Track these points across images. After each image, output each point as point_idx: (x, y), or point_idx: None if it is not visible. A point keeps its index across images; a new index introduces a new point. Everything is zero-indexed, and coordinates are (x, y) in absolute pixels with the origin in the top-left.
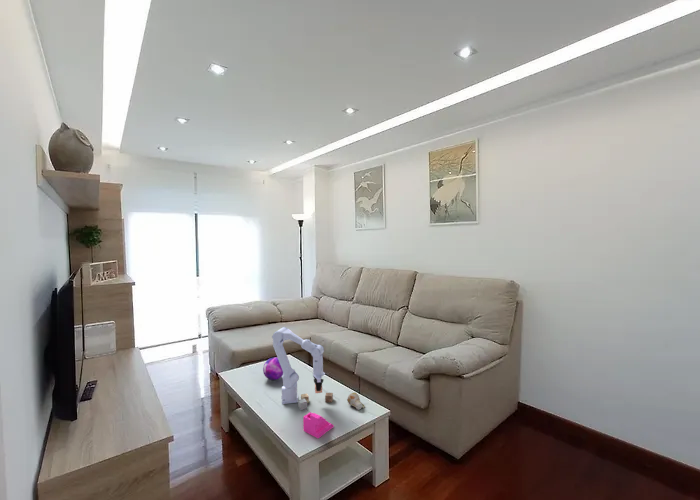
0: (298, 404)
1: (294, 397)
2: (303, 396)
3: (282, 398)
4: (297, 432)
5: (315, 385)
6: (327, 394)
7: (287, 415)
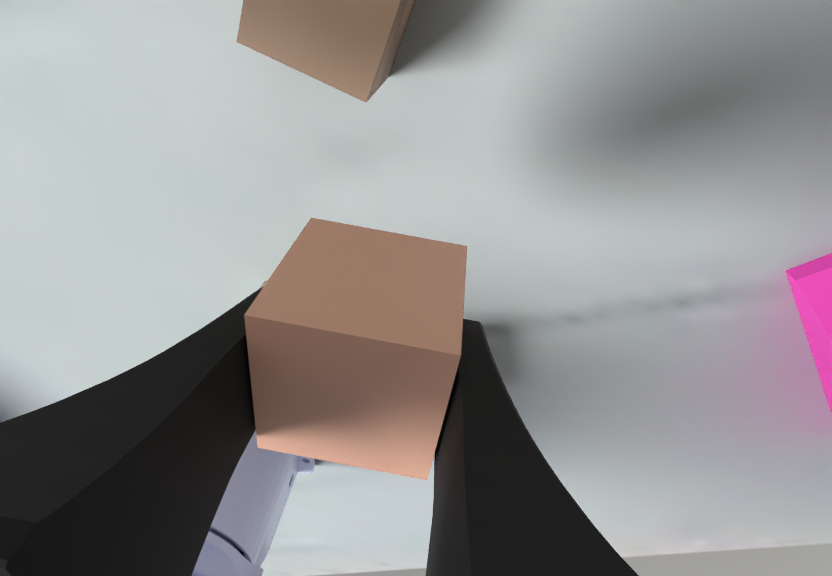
0: None
1: None
2: None
3: (285, 504)
4: (815, 471)
5: (367, 464)
6: (319, 36)
7: None
